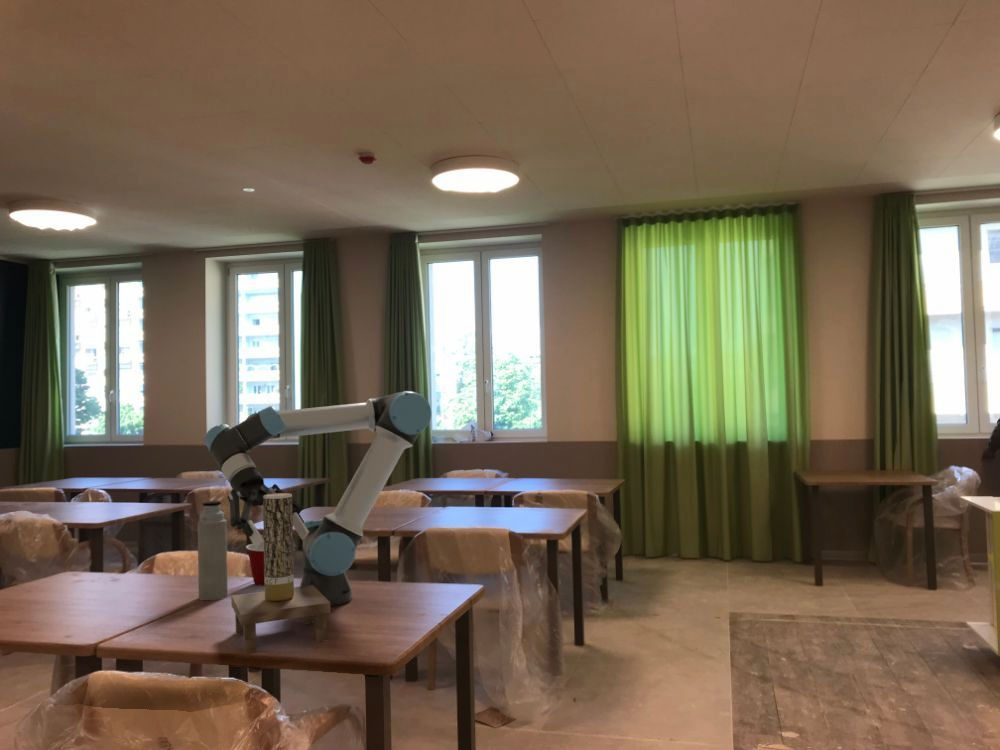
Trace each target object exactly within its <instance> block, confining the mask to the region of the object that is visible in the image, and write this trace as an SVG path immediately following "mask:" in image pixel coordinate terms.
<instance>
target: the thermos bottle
mask: <svg viewBox="0 0 1000 750" xmlns="http://www.w3.org/2000/svg"><path fill="white" fill-rule="evenodd" d="M202 506H203V508H202V512H201V513H200V514H199V521H198V522H197V560H198V561H197V562H198V565H197V568H198V569H197V571H198V574H197V575H198V581H197V582H198V600H199V599H200V601H203V600H211V601H217V600H216V599H218V600H222V599H225V598H227V597H229V596H228V594H229V592H228V589H229V588H228V587H229V586H228V561H227V560H228V558H227V556H228V543H227V542H228V536H227V535H228V533H227V531H228V528H227V527H228V526H227V524H228V523H227V519H225V512H223V511H222V507H221V501H217V500H216V501H212V500H211V501H206V502H205V501H204V502H203V503H202ZM221 598H222V599H221Z"/></svg>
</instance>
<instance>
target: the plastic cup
mask: <svg viewBox="0 0 1000 750" xmlns="http://www.w3.org/2000/svg"><path fill="white" fill-rule="evenodd" d="M245 548H246V550H247V554H248V558H249V564H250V570H251V575H252V579H253V585H255V586H265V582H264V576H265V575H264V542H263V544H262V545H261V547H260V548H259V549H256V548H255V546H254V544H253V543H250V544H248V545H245Z"/></svg>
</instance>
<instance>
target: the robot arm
mask: <svg viewBox="0 0 1000 750" xmlns="http://www.w3.org/2000/svg"><path fill="white" fill-rule="evenodd" d="M431 419H432V409H431V406H430V403H429V401H428V400H427V398H425V397H424V396H423V395H422V394H420V393H418V392H416V391H412V390H405V391H404V390H403V391H402V392H401V391H400V392H394V393H391V394H387V395H385V396H384V395H383V396H380V397H375V398H367V400H366V402H357V403H348V404H339V405H338V404H337V405H336V404H335V405H329V406H319V407H316V406H315V407H309V408H308V407H307V408H300V409H287V410H286V409H285V410H277V409H276V408H275V407H274V406H273V405H272V406H271V405H269V406H267V407H265V408H263V409H261V410H260V411H258V412H255V413H252V414H250V415H249V416H248V417H246V419H244V420H243V421H241V422H240V423H238V424H236V425H234V426H233V427H231V426H230V425H229V424H225V423H221V424H219V425H214V426H212V427H211V428H210V429H209V430H208V431H207V432H206V434H205V436H204V442H205V445H206V447H207V449H208V451H209V453H210V455H211V456H212V457H213V459H214V461H215V462H216V464H217V466H218V467H219V469H220V470H221V472H222V474H223V476H224V477H225V478H226V481H228V483H229V485H230V487H231V488H232V489H231V491H230V492H229V494H228V495H227V500H228V502H229V517H230V526H231V527H236V528H237V530H238V531H241V530H242V532H243V533H244V535H245V536H246V537H247V538H249V539H250V542H251V544H254V546H255V548H256V549H259V548H260V547H261V545H262V544H263V543H264V537H262V535H261V534H260V532H259V530H258V529H257V527H256V525H255V524H254V522H253V521H252V519H250V520H248V519H249V517H250V511H251V510H252V507H255V508H256V507H258V506H262V507H263V495H267V494H276V493H285V492H284V491H283V490H281V488H280V487H279V486H278V484H276V483H274V484H273V485H272V486H270V487H268V486H267V485H266V484H265V480H264V477H263V475H262V474H261V473H260V471H259V469H258V468H257V465H256V464H255V463H254V461H253V459H251V457H250V455H249V452H251V451H252V450H253V449H255V448H257V447H259V446H260V445H262V444H264V443H266V442H267V441H269V440H272V439H273V440H274V439H281V438H290V437H291V438H292V437H299V436H309V435H318V434H327V433H328V434H329V433H338V432H346V431H356V430H366V429H368V430H370V432H376V435H375V437H374V439H373V441H372V443H371V445H370V447H369V449H368V450H367V452H366V454H365V455H364V456H363V459H362V461H361V462H360V464H359V466H358V467H357V470H356V471H355V473H354V474H353V477H352V479H351V480H350V482H349V484H348V485H347V488H346V490H344V493H343V495H342V496H341V499H340V500H339V501H338V503H337V506H336V507H335V509H334V511H333V512H331V513H329V514H325V516H323V519H314V520H305V521H304V519H303V517H302V516H301V512H302V511H303V509H304V507H303V506H302V505H300V503H298V502H297V501H296V500H295V499H293V498H292V513H293V528H294V530H295V531H296V532H297V534H298V536H299V538H300V539H301V540H302V563H303V566H302V567H303V575H302V579H301V582H300V586H299V587H301V586H309V585H313V586H314V587H315V588H316V589H317V590H318V591H319V592H320V593H321V594H322V595H323V596H324V597H325V598H326V599H327V600H328V601H329V602H330V607H335V606H339V604H340V605H344V604H347V603H349V602H350V601H352V599H353V590H352V587H351V584H350V582H349V578H348V575H347V573H346V572H347V571H348V570H349V568H351V566H352V565H353V563H354V561H355V558H356V554H357V548H358V546H359V544H360V542H361V540H362V538H363V537H364V532H363V525H364V524H365V522H366V519H367V518H368V516H369V515H370V512H371V511H372V509H373V507H374V505H375V503H376V502H377V500H378V498H379V496H380V494H381V492H382V491H383V488H384V487H385V485H386V484H387V482H388V480H389V478H390V476H391V474H392V472H393V471H394V469H395V467H396V465H397V464H398V462H399V459H400V458H401V456H402V454H403V453H404V451H405V450H406V449H408V448H411V447H413V446H414V443H415V442H416V440H417V439H418V437H419V435H420V434H421V433H422V432H423V431H425V429H427V427H428V426H429V424H430V421H431ZM240 500H241V501H243V502H244V503H243V506H242V512H241V511H240ZM240 512H241V513H240ZM334 605H335V606H334Z"/></svg>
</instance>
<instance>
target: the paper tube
mask: <svg viewBox="0 0 1000 750" xmlns="http://www.w3.org/2000/svg"><path fill="white" fill-rule="evenodd" d="M292 499H293V495H292V493H290V492H289V493H288V492H284V493H276V494H267V495H263V505H262V509H263V510H262V511H263V512H262V513H263V514H262V515H263V516H262V517H263V519H262V520H263V521H262V522H263V540H264V542H263V543H264V575H265V576H264V582H265V585H264V591H265V599H266V600H268V601H274V602H275V601H285V600H289V599H291V598H292V597H293V596H294V586H295V584H294V583H295V581H294V580H295V579H294V577H295V576H294V568H295V567H294V529H293V528H294V527H293V513H292Z"/></svg>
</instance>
